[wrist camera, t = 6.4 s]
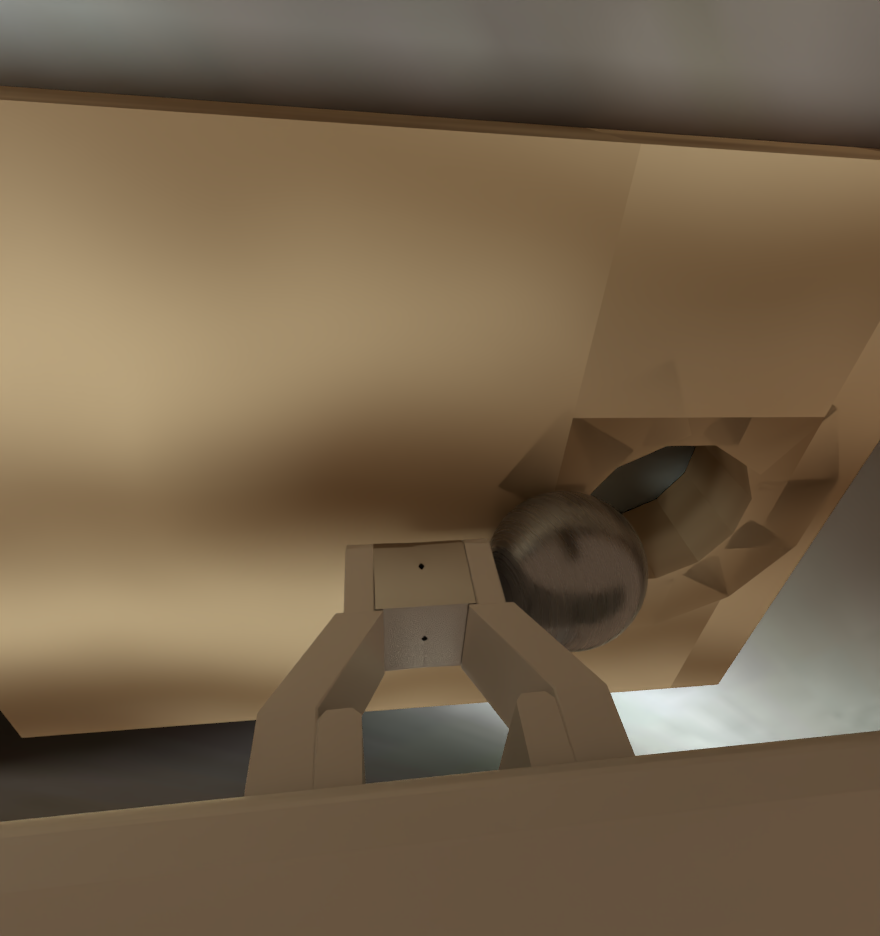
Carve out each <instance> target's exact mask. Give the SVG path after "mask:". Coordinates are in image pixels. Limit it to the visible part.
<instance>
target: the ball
mask: <svg viewBox="0 0 880 936" xmlns="http://www.w3.org/2000/svg"><path fill="white" fill-rule="evenodd" d="M490 546H491V549H492V553H493V557H494V560H495V564H496V568H497V571H498V575H499V578H500V582H501V586H502V589H503V593H504V597H505V600H506V602H514V603H515V604H516V605H517V606H519V607H520V608H521V609H522V610H523V611H524V612H525V613H526V614H528V615H529V616H530V617H531V618H532V619H533V620H534V621H536V622H537V623H538V624H539V625H540V626H541V627H542V628H543V629H545V630H546V631H547V632H548V633H549V634H550V635H551V636H553V637H554V638H555V639H556V640H557V641H558V642H559V643H560V644H562V645H563V646H564V647H565V648H566V649H567V650H568V651H569V652H581V651H587V650H591V649H594V648H597V647H600V646H603V645H605V644H607V643H608V642H610V641H612V640H614V639H615V638H617V637H618V636H619V635H620V634H622V633H623V632H624V631H625V630H626V629H627V628H628V627H629V626H630V624H631V623H632V622H633V621H634V619H635V618H636V616H637V614H638V613H639V611H640V609H641V607H642V605H643V602H644V599H645V596H646V592H647V586H648V563H647V558H646V554H645V551H644V547H643V545H642V542H641V540H640V538H639V536H638V534H637V533H636V531H635V530H634V528H633V527H632V525H631V524H630V523H629V521H628V520H627V519H626V518H625V517H624V516H623V515H622V514H621V513H620V512H619V511H618V510H616V509H615V508H614V507H612V506H611V505H609V504H608V503H606V502H604V501H602V500H600V499H598V498H596V497H594V496H591V495H588V494H584V493H581V492H573V491H553V492H547V493H543V494H540V495H537V496H534V497H531V498H529V499H527V500H526V501H524V502H522V503H520V504H519V505H517V506H516V507H515V508H513V509H512V510H511V511H510V512H509V513H508V514H507V515H506V516H505V517H504V518H503V519H502V521H501V522H500V524H499V525H498V527H497V528H496V530H495V532H494V534H493V536H492V538H491V541H490Z"/></svg>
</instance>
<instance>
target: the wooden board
mask: <svg viewBox="0 0 880 936" xmlns="http://www.w3.org/2000/svg"><path fill="white" fill-rule="evenodd" d="M879 440H880V149H874V148H860V147H846V146H832V145H818V144H804V143H790V142H776V141H762V140H748V139H734V138H721V137H707V136H693V135H679V134H665V133H651V132H637V131H623V130H609V129H595V128H581V127H567V126H553V125H540V124H526V123H512V122H498V121H484V120H470V119H456V118H442V117H428V116H414V115H400V114H386V113H372V112H359V111H345V110H331V109H317V108H303V107H289V106H275V105H261V104H247V103H233V102H219V101H205V100H191V99H178V98H164V97H150V96H136V95H122V94H108V93H94V92H80V91H66V90H52V89H38V88H24V87H10V86H0V710H1V712H2V713H3V714H4V715H5V717H6V718H7V719H8V721H9V722H10V723H11V724H12V726H13V727H14V728H15V730H16V731H17V732H18V733H19V735H20V736H21V737H22V738H26V737H39V736H52V735H65V734H78V733H91V732H104V731H117V730H130V729H143V728H156V727H169V726H183V725H196V724H209V723H222V722H235V721H248V720H256V718H257V713H258V712H259V710H260V709H261V708H262V707H263V705H264V704H265V703H266V702H267V700H268V699H269V698H270V696H271V695H272V694H273V693H274V691H275V690H276V689H277V688H278V686H279V685H280V684H281V682H282V681H283V680H284V679H285V677H286V676H287V675H288V674H289V672H290V671H291V670H292V668H293V667H294V666H295V665H296V663H297V662H298V661H299V660H300V658H301V657H302V656H303V654H304V653H305V652H306V651H307V649H308V648H309V647H310V646H311V644H312V643H313V642H314V640H315V639H316V638H317V637H318V635H319V634H320V633H321V631H322V630H323V629H324V628H325V626H326V625H327V624H328V623H329V621H330V620H331V619H332V617H333V616H334V615H335V614H336V613H344V582H345V551H346V546H347V545H362V544H372V545H373V544H381V543H414V542H431V541H449V540H461V541H462V540H465V539H482V538H487V540H488V541H489V542H490V541H491V538H492V536H493V534H494V532H495V530H496V528H497V527H498V525H499V524H500V522H501V521H502V519H503V518H504V517H505V516H506V515H507V514H508V513H509V512H510V511H511V510H512V509H513V508H515V507H516V506H517V505H519V504H520V503H522V502H524V501H526V500H527V499H529V498H531V497H534V496H537V495H540V494H543V493H547V492H553V491H573V492H581V493H584V494H588V495H590V494H591V493H592V492H593V491H594V490H595V489H596V488H597V487H598V486H599V485H600V484H601V483H602V482H603V481H604V480H605V479H606V478H607V477H608V476H609V475H610V474H611V473H612V472H613V471H614V470H615V469H616V468H618V467H620V466H622V465H624V464H627V463H629V462H631V461H634V460H636V459H638V458H640V457H643V456H645V455H647V454H650V453H652V452H654V451H656V450H659V449H661V448H663V447H666V446H696V447H695V450H694V452H693V455H692V457H691V459H690V462H689V464H688V466H687V469H686V471H685V473H684V474H683V475H682V476H681V477H680V478H679V479H677V480H676V481H675V482H674V483H673V484H672V485H671V486H670V487H669V488H668V489H667V490H666V491H665V492H663V493H662V494H661V495H660V496H659V497H658V498H657V499H656V500H653V501H651V502H649V503H646V504H644V505H642V506H639V507H637V508H634V509H632V510H630V511H627V512H625V513H622V515H623V516H624V517H625V518H626V519H627V520H628V521H629V523H630V524H631V525H632V527H633V528H634V530H635V531H636V533H637V534H638V536H639V538H640V540H641V542H642V545H643V547H644V551H645V554H646V558H647V563H648V586H647V592H646V596H645V599H644V602H643V605H642V607H641V609H640V611H639V613H638V614H637V616H636V618H635V619H634V621H633V622H632V623H631V624H630V626H629V627H628V628H627V629H626V630H625V631H624V632H623V633H622V634H620V635H619V636H618V637H617V638H615V639H614V640H612V641H610V642H608V643H607V644H605V645H603V646H600V647H597V648H594V649H591V650H587V651H581V652H571V653H572V654H573V655H574V656H575V657H576V658H577V659H579V660H580V661H581V662H582V663H583V664H584V665H585V666H586V667H588V668H589V669H590V670H591V671H592V672H593V673H594V674H596V675H597V676H598V677H599V678H600V679H601V680H602V681H603V682H605V683H606V684H607V686H608V689H609V691H610V693H612V692H625V691H638V690H651V689H665V688H678V687H691V686H704V685H717V684H718V683H719V682H720V680H721V679H722V677H723V676H724V674H725V673H726V671H727V670H728V668H729V667H730V665H731V664H732V662H733V661H734V659H735V658H736V656H737V655H738V653H739V652H740V650H741V649H742V647H743V646H744V644H745V643H746V641H747V640H748V638H749V637H750V635H751V634H752V632H753V631H754V629H755V628H756V626H757V625H758V623H759V621H760V620H761V618H762V617H763V615H764V614H765V612H766V611H767V609H768V608H769V606H770V605H771V603H772V602H773V600H774V599H775V597H776V596H777V594H778V593H779V591H780V590H781V588H782V587H783V585H784V584H785V582H786V581H787V579H788V578H789V576H790V575H791V573H792V572H793V570H794V569H795V567H796V566H797V564H798V563H799V561H800V560H801V558H802V557H803V555H804V553H805V552H806V550H807V549H808V547H809V546H810V544H811V543H812V541H813V540H814V538H815V537H816V535H817V534H818V532H819V531H820V529H821V528H822V526H823V525H824V523H825V522H826V520H827V519H828V517H829V516H830V514H831V513H832V511H833V510H834V508H835V507H836V505H837V504H838V502H839V501H840V499H841V498H842V496H843V495H844V493H845V492H846V490H847V489H848V487H849V486H850V484H851V482H852V481H853V479H854V478H855V476H856V475H857V473H858V472H859V470H860V469H861V467H862V466H863V464H864V463H865V461H866V460H867V458H868V457H869V455H870V454H871V452H872V451H873V449H874V448H875V446H876V445H877V443H878V442H879ZM373 568H374V561H373ZM482 702H488V701H487V700H486V699H485V697H484V696H483V695H482V694H481V692H480V691H479V690H478V689H477V687H476V686H475V685H474V683H473V682H472V681H471V680H470V678H469V677H468V676H467V675H466V673H465V672H464V671H463V670H462V668H461V666H441V667H422V668H412V669H403V670H393V671H385V674H384V676H383V678H382V680H381V682H380V684H379V685H378V687H377V689H376V691H375V693H374V695H373V696H372V698H371V700H370V702H369V704H368V706H367V708H366V709H365V711H378V710H391V709H404V708H417V707H430V706H443V705H456V704H469V703H482ZM365 711H364V712H365Z"/></svg>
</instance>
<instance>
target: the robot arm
mask: <svg viewBox="0 0 880 936" xmlns="http://www.w3.org/2000/svg"><path fill="white" fill-rule="evenodd" d="M373 561H374V568H373ZM441 666H461V668H462V670H463V671H464V672H465V673H466V675H467V676H468V677H469V678H470V680H471V681H472V682H473V683H474V685H475V686H476V687H477V689H478V690H479V691H480V692H481V694H482V695H483V696H484V697H485V699H486V700H487V701H488V702H489V704H490V705H491V706H492V708H493V709H494V710H495V711H496V713H497V714H498V715H499V716H500V718H501V719H502V720H503V721H504V723H505V724H506V725H507V727H508V728H509V732H508V736H507V739H506V743H505V747H504V751H503V755H502V759H501V763H500V766H499V770H494V771H485V772H475V773H466V774H456V775H446V776H437V777H427V778H418V779H408V780H398V781H389V782H379V783H370V784H366V778H365V763H364V747H363V732H362V715H363V713H364V711H365V709H366V708H367V706H368V704H369V702H370V700H371V698H372V696H373V695H374V693H375V691H376V689H377V687H378V685H379V684H380V682H381V680H382V678H383V676H384V674H385V671H393V670H403V669H412V668H422V667H441ZM0 936H880V731H871V732H861V733H852V734H842V735H833V736H823V737H813V738H804V739H794V740H785V741H775V742H765V743H756V744H746V745H737V746H727V747H717V748H708V749H698V750H689V751H679V752H669V753H660V754H650V755H640V756H635V754H634V752H633V749H632V747H631V744H630V742H629V739H628V737H627V734H626V732H625V729H624V727H623V724H622V722H621V719H620V717H619V714H618V712H617V709H616V707H615V704H614V701H613V699H612V696H611V694H610V691H609V689H608V686H607V684H606V683H605V682H603V681H602V680H601V679H600V678H599V677H598V676H597V675H596V674H594V673H593V672H592V671H591V670H590V669H589V668H588V667H586V666H585V665H584V664H583V663H582V662H581V661H580V660H579V659H577V658H576V657H575V656H574V655H573V654H572V653H571V652H569V651H568V650H567V649H566V648H565V647H564V646H563V645H562V644H560V643H559V642H558V641H557V640H556V639H555V638H554V637H553V636H551V635H550V634H549V633H548V632H547V631H546V630H545V629H543V628H542V627H541V626H540V625H539V624H538V623H537V622H536V621H534V620H533V619H532V618H531V617H530V616H529V615H528V614H526V613H525V612H524V611H523V610H522V609H521V608H520V607H519V606H517V605H516V604H515V603H514V602H506V600H505V597H504V593H503V589H502V586H501V582H500V578H499V575H498V571H497V568H496V564H495V560H494V557H493V553H492V549H491V546H490V542H489V541H488V540H487V538H482V539H465V540H462V541H461V540H449V541H431V542H414V543H381V544H373V545H372V544H362V545H347V546H346V551H345V582H344V613H336V614H335V615H334V616H333V617H332V619H331V620H330V621H329V623H328V624H327V625H326V626H325V628H324V629H323V630H322V631H321V633H320V634H319V635H318V637H317V638H316V639H315V640H314V642H313V643H312V644H311V646H310V647H309V648H308V649H307V651H306V652H305V653H304V654H303V656H302V657H301V658H300V660H299V661H298V662H297V663H296V665H295V666H294V667H293V668H292V670H291V671H290V672H289V674H288V675H287V676H286V677H285V679H284V680H283V681H282V682H281V684H280V685H279V686H278V688H277V689H276V690H275V691H274V693H273V694H272V695H271V696H270V698H269V699H268V700H267V702H266V703H265V704H264V705H263V707H262V708H261V709H260V710H259V712H258V713H257V718H256V725H255V731H254V737H253V743H252V749H251V755H250V762H249V768H248V774H247V780H246V786H245V793H244V797H235V798H225V799H216V800H206V801H197V802H187V803H177V804H168V805H158V806H148V807H139V808H129V809H120V810H110V811H100V812H91V813H81V814H71V815H62V816H52V817H43V818H33V819H23V820H14V821H4V822H0Z"/></svg>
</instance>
